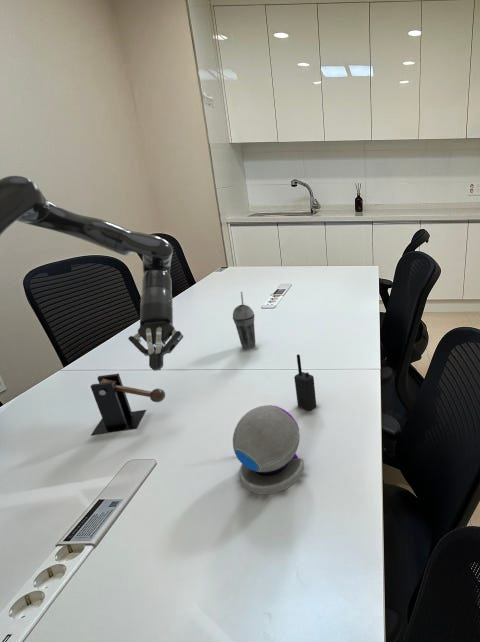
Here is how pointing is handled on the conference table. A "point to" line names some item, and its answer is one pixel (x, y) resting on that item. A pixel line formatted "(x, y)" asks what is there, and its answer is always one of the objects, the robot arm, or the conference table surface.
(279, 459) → the webcam
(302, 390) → the walkie-talkie
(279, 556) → the conference table surface
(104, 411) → the bracket
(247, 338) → the beverage cup
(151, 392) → the lever
